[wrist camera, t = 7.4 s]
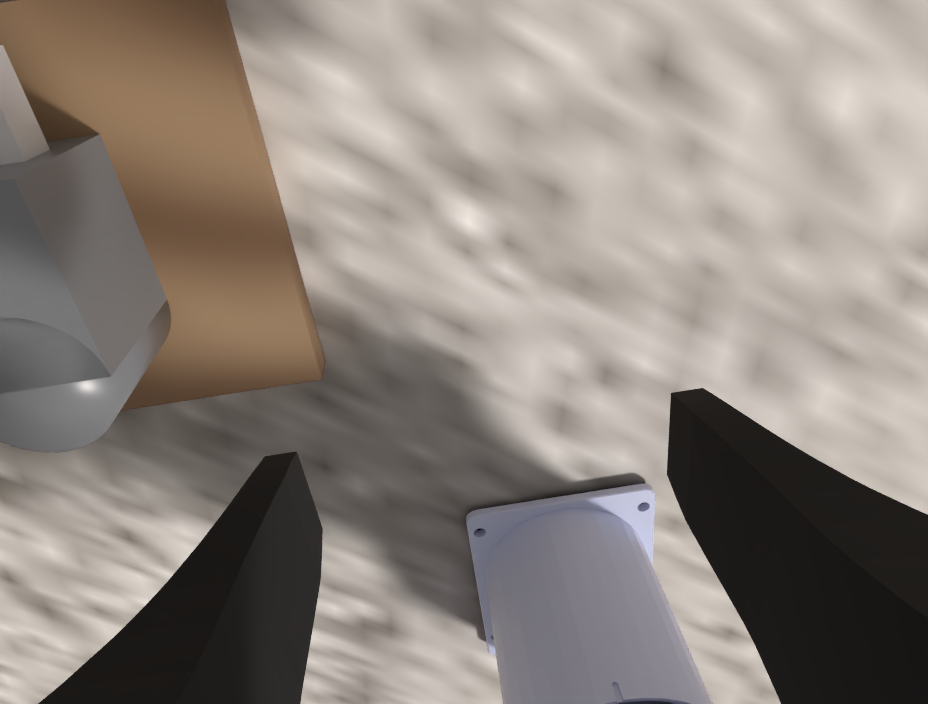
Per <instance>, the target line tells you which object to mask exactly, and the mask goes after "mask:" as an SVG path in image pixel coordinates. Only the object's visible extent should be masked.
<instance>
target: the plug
mask: <svg viewBox="0 0 928 704" xmlns="http://www.w3.org/2000/svg"><path fill="white" fill-rule="evenodd" d="M170 326H171V312H170V307H169V304H168V301H167V298H166V295H165V293H164V290H163V288H162V286H161V283H160V281H159V278H158V276H157V273H156V271H155V268H154V266H153V263H152V261H151V258H150V256H149V253H148V251H147V249H146V246H145V244H144V241H143V239H142V236H141V234H140V231H139V229H138V226H137V224H136V221H135V219H134V216H133V214H132V212H131V209H130V207H129V204H128V202H127V199H126V197H125V194H124V192H123V189H122V187H121V184H120V182H119V179H118V177H117V175H116V172H115V170H114V167H113V165H112V162H111V160H110V157H109V155H108V152H107V150H106V147H105V145H104V142H103V140H102V138H101V135H100V134H97V135H90V136H83V137H77V138H70V139H63V140H57V141H50V142H46V140H45V137H44V135H43V133H42V131H41V129H40V126H39V124H38V122H37V120H36V117H35V115H34V113H33V111H32V109H31V106H30V104H29V102H28V100H27V97H26V95H25V93H24V91H23V89H22V86H21V84H20V82H19V80H18V77H17V75H16V73H15V71H14V69H13V66H12V64H11V62H10V60H9V57H8V55H7V53H6V51H5V49H4V46H3V45H0V441H1V442H3V443H6V444H8V445H11V446H14V447H18V448H21V449H25V450H31V451H37V452H64V451H70V450H75V449H78V448H81V447H84V446H86V445H88V444H90V443H92V442H94V441H96V440H97V439H98V438H100V437H101V436H102V435H103V434H104V433H105V432H106V431H107V430H108V428H109V427H110V426H111V424H112V423H113V421H114V420H115V418H116V416H117V415H118V413H119V412H120V410H121V409H122V407H123V406H124V404H125V402H126V401H127V399H128V398H129V396H130V395H131V393H132V392H133V390H134V389H135V387H136V385H137V384H138V382H139V381H140V379H141V378H142V376H143V375H144V373H145V372H146V370H147V368H148V367H149V365H150V364H151V362H152V361H153V359H154V358H155V356H156V354H157V353H158V351H159V350H160V348H161V347H162V345H163V344H164V342H165V340H166V338H167V336H168V334H169V331H170Z"/></svg>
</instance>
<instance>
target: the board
mask: <svg viewBox="0 0 928 704" xmlns="http://www.w3.org/2000/svg"><path fill="white" fill-rule="evenodd" d="M0 45H3V46H4V49H5V51H6V53H7V55H8V57H9V60H10V62H11V64H12V66H13V69H14V71H15V73H16V75H17V77H18V80H19V82H20V84H21V86H22V89H23V91H24V93H25V95H26V97H27V100H28V102H29V104H30V106H31V109H32V111H33V113H34V115H35V117H36V120H37V122H38V124H39V126H40V129H41V131H42V133H43V135H44V137H45V140H46V142H50V141H57V140H63V139H70V138H77V137H83V136H90V135H97V134H100V135H101V138H102V140H103V142H104V145H105V147H106V150H107V152H108V155H109V157H110V160H111V162H112V165H113V167H114V170H115V172H116V175H117V177H118V179H119V182H120V184H121V187H122V189H123V192H124V194H125V197H126V199H127V202H128V204H129V207H130V209H131V212H132V214H133V216H134V219H135V221H136V224H137V226H138V229H139V231H140V234H141V236H142V239H143V241H144V244H145V246H146V249H147V251H148V253H149V256H150V258H151V261H152V263H153V266H154V268H155V271H156V273H157V276H158V278H159V281H160V283H161V286H162V288H163V290H164V293H165V295H166V298H167V301H168V304H169V307H170V312H171V326H170V331H169V334H168V336H167V338H166V340H165V342H164V344H163V345H162V347H161V348H160V350H159V351H158V353H157V354H156V356H155V358H154V359H153V361H152V362H151V364H150V365H149V367H148V368H147V370H146V372H145V373H144V375H143V376H142V378H141V379H140V381H139V382H138V384H137V385H136V387H135V389H134V390H133V392H132V393H131V395H130V396H129V398H128V399H127V401H126V402H125V404H124V406H123V407H122V409H121V410H127V409H134V408H140V407H147V406H153V405H160V404H166V403H173V402H179V401H186V400H192V399H199V398H205V397H212V396H218V395H225V394H231V393H237V392H244V391H250V390H257V389H263V388H270V387H276V386H283V385H289V384H296V383H302V382H309V381H315V380H322V376H323V371H324V366H325V359H324V355H323V351H322V348H321V344H320V341H319V337H318V333H317V330H316V326H315V323H314V319H313V315H312V312H311V308H310V305H309V301H308V297H307V294H306V290H305V287H304V283H303V279H302V276H301V272H300V269H299V265H298V261H297V258H296V254H295V251H294V247H293V243H292V240H291V236H290V233H289V229H288V225H287V222H286V218H285V215H284V211H283V207H282V204H281V200H280V197H279V193H278V189H277V186H276V182H275V179H274V175H273V171H272V168H271V164H270V161H269V157H268V153H267V150H266V146H265V143H264V139H263V135H262V132H261V128H260V125H259V121H258V117H257V114H256V110H255V107H254V103H253V99H252V96H251V92H250V89H249V85H248V81H247V78H246V74H245V71H244V67H243V63H242V60H241V56H240V53H239V49H238V45H237V42H236V38H235V35H234V31H233V27H232V24H231V20H230V17H229V13H228V9H227V6H226V2H225V0H16V1H9V2H2V3H0ZM121 410H120V411H121Z"/></svg>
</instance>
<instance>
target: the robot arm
mask: <svg viewBox="0 0 928 704" xmlns="http://www.w3.org/2000/svg"><path fill="white" fill-rule="evenodd" d="M667 475H668V478H669V481H670V483H671V486H672V488H673V491H674V493H675V496H676V498H677V501H678V503H679V506H680V508H681V510H682V513H683V515H684V517H685V520H686V522H687V524H688V525H689V527H690V529H691V531H692V533H693V534H694V536H695V538H696V540H697V542H698V543H699V545H700V547H701V549H702V551H703V552H704V554H705V556H706V558H707V559H708V561H709V563H710V565H711V566H712V568H713V570H714V572H715V573H716V575H717V577H718V579H719V580H720V582H721V584H722V586H723V587H724V589H725V591H726V593H727V594H728V596H729V598H730V600H731V601H732V603H733V605H734V607H735V608H736V610H737V612H738V614H739V615H740V617H741V619H742V621H743V622H744V624H745V626H746V628H747V630H748V632H749V634H750V636H751V638H752V640H753V642H754V644H755V646H756V648H757V650H758V652H759V655H760V657H761V659H762V661H763V664H764V666H765V668H766V670H767V673H768V675H769V677H770V679H771V682H772V684H773V686H774V688H775V691H776V693H777V695H778V697H779V700H780V702H781V704H928V515H927V514H925V513H922V512H920V511H918V510H915V509H913V508H911V507H909V506H907V505H905V504H902V503H900V502H898V501H896V500H894V499H892V498H890V497H888V496H885V495H883V494H881V493H879V492H877V491H875V490H873V489H871V488H869V487H867V486H865V485H863V484H861V483H859V482H857V481H855V480H853V479H851V478H849V477H847V476H846V475H844V474H842V473H840V472H838V471H836V470H835V469H833V468H831V467H829V466H827V465H826V464H824V463H822V462H820V461H818V460H817V459H815V458H813V457H811V456H810V455H808V454H806V453H805V452H803V451H801V450H800V449H798V448H796V447H795V446H793V445H791V444H790V443H788V442H786V441H785V440H783V439H782V438H780V437H778V436H777V435H775V434H773V433H772V432H770V431H769V430H767V429H766V428H764V427H762V426H761V425H759V424H758V423H756V422H755V421H753V420H752V419H750V418H749V417H747V416H746V415H744V414H742V413H741V412H739V411H738V410H736V409H735V408H733V407H732V406H730V405H729V404H727V403H726V402H724V401H723V400H721V399H719V398H718V397H716V396H715V395H713V394H712V393H710V392H708V391H707V390H705V389H703V388H700V389H694V390H687V391H681V392H675V393H671V407H670V426H669V445H668V465H667ZM643 502H645V503H644V504H642V505H639V504H640V503H643ZM654 512H655V493H654V491H653V489H652V487H651V486H650V485H648V484H636V485H630V486H624V487H617V488H611V489H605V490H598V491H592V492H586V493H579V494H573V495H567V496H560V497H554V498H548V499H541V500H535V501H529V502H522V503H516V504H510V505H503V506H497V507H490V508H484V509H478V510H474V511H471V512H470V513H469V514H468V515H467V517H466V524H467V530H468V536H469V542H470V548H471V554H472V559H473V565H474V571H475V577H476V583H477V589H478V594H479V600H480V606H481V612H482V618H483V624H484V630H485V635H486V641H487V647H488V651H489V653H490V654H492V655H495V656H496V658H497V665H498V672H499V679H500V686H501V692H502V699H503V704H712V701H711V699H710V697H709V694H708V692H707V690H706V687H705V685H704V683H703V681H702V678H701V676H700V674H699V671H698V669H697V667H696V664H695V662H694V660H693V658H692V655H691V653H690V651H689V648H688V646H687V644H686V641H685V639H684V637H683V635H682V632H681V630H680V628H679V625H678V623H677V621H676V619H675V616H674V614H673V612H672V609H671V607H670V605H669V602H668V600H667V598H666V596H665V593H664V591H663V589H662V586H661V584H660V582H659V579H658V577H657V575H656V573H655V570H654V568H653V539H654ZM479 528H483V529H482V530H476V529H479ZM321 561H322V526H321V523H320V520H319V517H318V514H317V511H316V508H315V505H314V502H313V499H312V496H311V493H310V490H309V487H308V484H307V481H306V478H305V475H304V472H303V469H302V466H301V463H300V460H299V457H298V454H297V452H291V453H284V454H278V455H272V456H265V457H264V458H263V460H262V461H261V462H260V464H259V465H258V466H257V468H256V469H255V470H254V471H253V473H252V474H251V476H250V477H249V478H248V480H247V481H246V482H245V484H244V485H243V487H242V488H241V489H240V491H239V492H238V493H237V495H236V496H235V497H234V499H233V500H232V502H231V503H230V504H229V506H228V507H227V508H226V510H225V511H224V512H223V514H222V515H221V516H220V518H219V519H218V520H217V522H216V523H215V524H214V525H213V527H212V528H211V529H210V531H209V532H208V533H207V535H206V536H205V537H204V538H203V540H202V541H201V542H200V544H199V545H198V546H197V547H196V548H195V550H194V551H193V552H192V553H191V554H190V556H189V557H188V558H187V559H186V560H185V562H184V563H183V564H182V565H181V566H180V568H179V569H178V570H177V571H176V572H175V573H174V575H173V576H172V577H171V578H170V579H169V581H168V582H167V583H166V584H165V585H164V586H163V587H162V588H161V590H160V591H159V592H158V593H157V594H156V595H155V596H154V597H153V598H152V599H151V600H150V601H149V602H148V603H147V605H146V606H145V607H144V608H143V609H142V610H141V611H140V612H139V613H138V614H137V615H136V616H135V617H134V618H133V619H132V620H131V621H130V622H129V623H128V624H127V625H126V626H125V627H124V628H123V629H122V630H121V631H120V632H119V633H118V634H117V635H116V636H115V637H114V638H113V639H111V640H110V641H109V642H108V643H107V644H106V645H105V646H104V647H103V648H102V649H100V650H99V651H98V652H97V653H96V654H95V655H94V656H93V657H92V658H90V659H89V660H88V661H87V662H86V663H85V664H84V665H83V666H82V667H80V668H79V669H78V670H77V671H76V672H75V673H74V674H73V675H72V676H70V677H69V678H68V679H67V680H66V681H65V682H64V683H63V684H61V685H60V686H59V687H58V688H57V689H56V690H54V691H53V692H52V693H51V694H49V695H48V696H47V697H46V698H45V699H43V700H42V701H41V702H40V703H39V704H300V701H301V694H302V688H303V682H304V676H305V670H306V664H307V658H308V652H309V646H310V640H311V634H312V629H313V623H314V617H315V611H316V604H317V598H318V592H319V586H320V579H321Z"/></svg>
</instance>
